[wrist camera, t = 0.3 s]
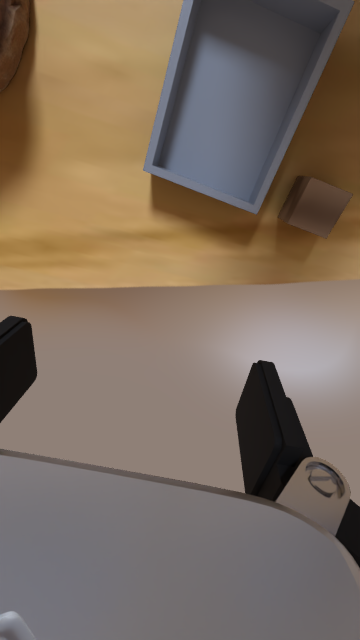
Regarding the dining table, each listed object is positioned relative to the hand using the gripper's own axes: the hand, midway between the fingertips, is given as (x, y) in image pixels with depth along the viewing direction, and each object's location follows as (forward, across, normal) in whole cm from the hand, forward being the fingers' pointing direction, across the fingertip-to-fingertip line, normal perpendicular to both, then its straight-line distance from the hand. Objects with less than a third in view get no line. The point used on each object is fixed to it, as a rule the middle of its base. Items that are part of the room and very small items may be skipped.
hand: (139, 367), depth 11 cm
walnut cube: (+30, -14, -6) cm, 34 cm away
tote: (+30, -3, -14) cm, 33 cm away
